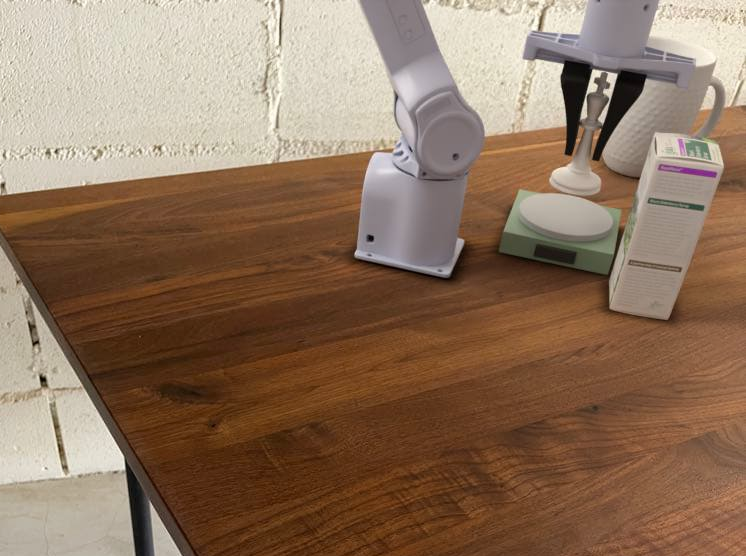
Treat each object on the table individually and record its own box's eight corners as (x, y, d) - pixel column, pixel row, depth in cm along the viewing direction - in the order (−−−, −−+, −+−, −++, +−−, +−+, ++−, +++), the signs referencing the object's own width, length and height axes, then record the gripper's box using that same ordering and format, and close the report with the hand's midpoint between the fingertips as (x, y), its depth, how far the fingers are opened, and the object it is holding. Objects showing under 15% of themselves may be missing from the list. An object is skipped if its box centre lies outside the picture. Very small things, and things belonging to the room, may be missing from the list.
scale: (497, 253, 89) (503, 226, 87) (515, 208, 97) (521, 182, 95) (607, 277, 87) (616, 249, 85) (615, 229, 95) (623, 203, 93)
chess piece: (569, 198, 83) (600, 84, 76) (539, 177, 86) (565, 65, 79) (610, 192, 84) (644, 80, 77) (579, 171, 87) (608, 61, 80)
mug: (678, 148, 114) (717, 36, 104) (722, 185, 106) (768, 67, 97) (572, 149, 110) (602, 33, 101) (609, 187, 103) (645, 65, 94)
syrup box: (669, 322, 82) (730, 164, 72) (605, 310, 82) (657, 153, 72) (666, 292, 86) (723, 139, 76) (605, 281, 87) (653, 128, 76)
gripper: (533, -15, 72) (499, 154, 81) (715, 15, 70) (658, 186, 79) (545, -33, 77) (512, 128, 86) (715, -6, 74) (662, 157, 84)
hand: (582, 154), depth 83 cm, fingers closed on chess piece
